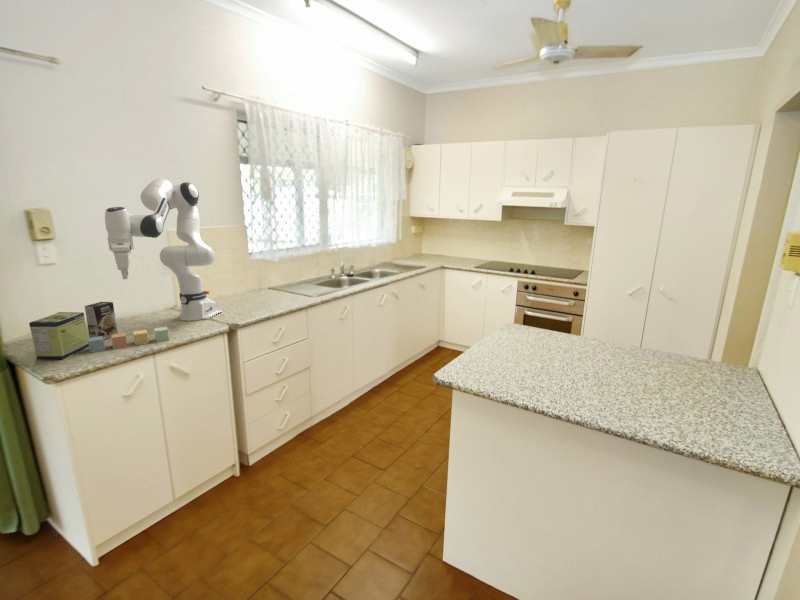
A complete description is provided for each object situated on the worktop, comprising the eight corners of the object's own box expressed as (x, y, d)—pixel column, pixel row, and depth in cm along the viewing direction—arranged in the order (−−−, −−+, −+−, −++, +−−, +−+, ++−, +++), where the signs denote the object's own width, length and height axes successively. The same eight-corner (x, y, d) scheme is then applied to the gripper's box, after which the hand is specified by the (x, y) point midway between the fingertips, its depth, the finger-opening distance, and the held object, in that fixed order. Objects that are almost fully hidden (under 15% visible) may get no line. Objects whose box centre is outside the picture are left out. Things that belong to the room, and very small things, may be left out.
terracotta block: (126, 343, 180) (125, 332, 178) (127, 346, 176) (125, 335, 174) (113, 345, 177) (111, 334, 176) (113, 348, 173) (111, 337, 172)
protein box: (90, 346, 175) (84, 311, 172) (62, 360, 160) (55, 322, 156) (66, 345, 175) (59, 311, 171) (35, 359, 160) (27, 322, 156)
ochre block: (147, 340, 184) (146, 329, 183) (148, 343, 180) (147, 332, 179) (134, 342, 181) (133, 331, 180) (135, 345, 177) (133, 334, 176)
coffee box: (101, 341, 181) (95, 306, 177) (89, 340, 182) (83, 305, 178) (118, 334, 190) (113, 301, 186) (107, 333, 191) (101, 300, 187)
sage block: (167, 336, 189) (166, 326, 187) (168, 339, 185) (167, 329, 184) (155, 338, 186) (153, 328, 185) (156, 341, 182) (155, 331, 181)
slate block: (104, 346, 175) (102, 335, 174) (104, 350, 171) (102, 339, 170) (90, 349, 172) (88, 338, 171) (90, 352, 168) (88, 341, 167)
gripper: (113, 243, 180) (118, 274, 183) (110, 248, 163) (115, 281, 166) (130, 243, 183) (134, 273, 186) (129, 247, 166) (133, 280, 169)
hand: (125, 277), depth 176 cm, fingers open, 8 cm apart
